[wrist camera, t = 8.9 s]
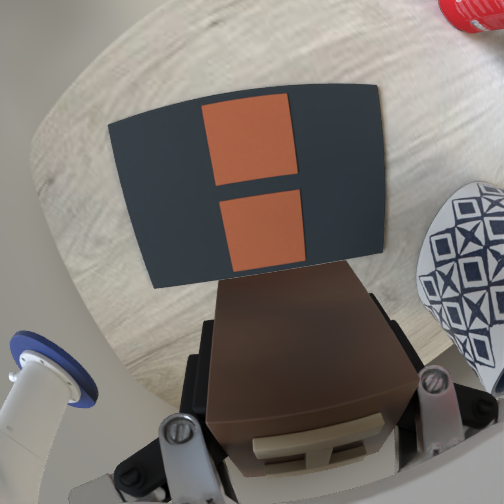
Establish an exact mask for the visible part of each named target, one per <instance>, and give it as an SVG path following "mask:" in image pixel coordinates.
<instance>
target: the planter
mask: <svg viewBox="0 0 504 504" xmlns="http://www.w3.org/2000/svg"><path fill="white" fill-rule="evenodd" d="M416 279H417V290H418V294H419V297H420V299H421V301H422V303H423V304H424V305H425V307H426V308H427V309H428V311H429V312H430V313H431V314H432V316H433V317H434V318H435V319H436V321H437V322H438V323H439V324H440V326H441V327H442V328H443V330H444V331H445V332H446V334H447V335H448V336H449V337H450V339H451V340H452V342H453V343H454V344H455V346H456V347H457V348H458V350H459V351H460V352H461V354H462V355H463V357H464V358H465V359H466V361H467V362H468V364H469V365H470V367H471V368H472V369H473V371H474V372H475V374H476V375H477V377H478V378H479V380H480V381H481V383H482V384H483V386H484V387H485V389H486V390H487V392H488V393H490V394H492V395H493V396H494V397H495V398H496V397H500V396H502V395H504V189H501V188H499V187H497V186H494V185H492V184H489V183H487V182H480V181H479V182H473V183H470V184H468V185H465V186H464V187H462V188H461V189H459V190H458V191H456V192H455V193H454V194H453V195H452V196H451V197H450V198H449V199H448V200H447V202H446V203H445V204H444V205H443V206H442V208H441V209H440V211H439V212H438V214H437V215H436V217H435V218H434V220H433V222H432V224H431V226H430V228H429V230H428V232H427V235H426V237H425V239H424V242H423V245H422V248H421V251H420V255H419V260H418V265H417V274H416Z"/></svg>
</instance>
